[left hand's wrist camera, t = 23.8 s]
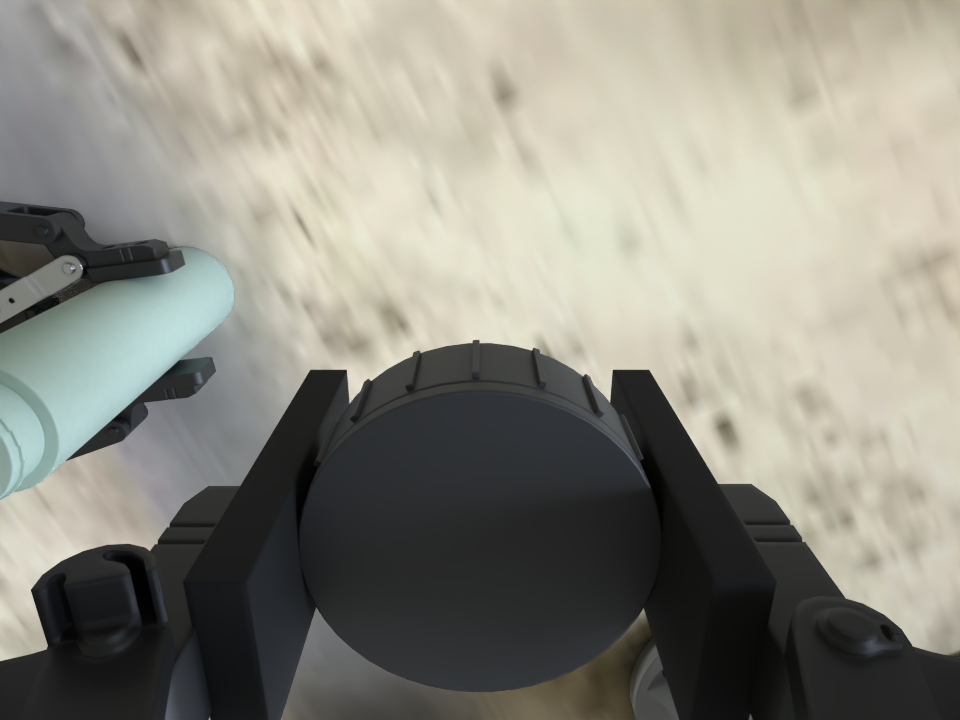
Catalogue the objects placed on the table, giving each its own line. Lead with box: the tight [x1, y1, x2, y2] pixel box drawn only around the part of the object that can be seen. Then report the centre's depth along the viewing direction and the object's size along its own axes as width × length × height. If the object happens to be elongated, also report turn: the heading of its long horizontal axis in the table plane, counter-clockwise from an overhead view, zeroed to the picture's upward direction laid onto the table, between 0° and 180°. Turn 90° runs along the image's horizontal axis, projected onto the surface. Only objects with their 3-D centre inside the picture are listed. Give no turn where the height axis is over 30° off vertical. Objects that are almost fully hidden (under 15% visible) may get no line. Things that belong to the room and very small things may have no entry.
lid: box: [298, 340, 662, 692], centre depth 11 cm, size 6×6×2 cm
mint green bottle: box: [0, 247, 234, 500], centre depth 30 cm, size 5×5×19 cm
